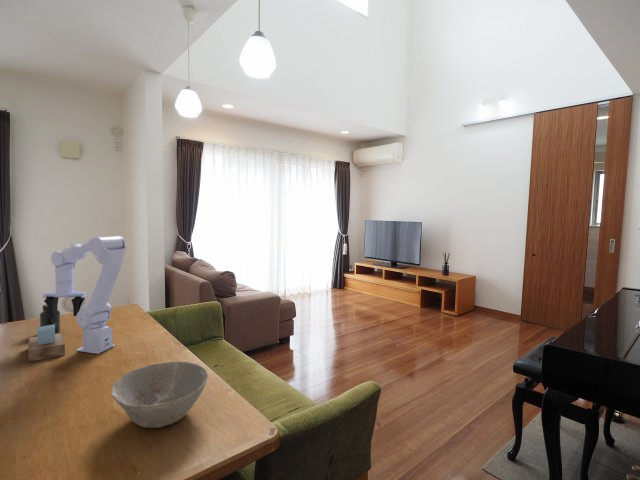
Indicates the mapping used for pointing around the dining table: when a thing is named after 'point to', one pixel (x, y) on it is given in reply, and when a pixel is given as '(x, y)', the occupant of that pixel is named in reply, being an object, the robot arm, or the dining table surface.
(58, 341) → the walnut block
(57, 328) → the supplement bottle
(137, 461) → the dining table surface
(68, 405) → the dining table surface
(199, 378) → the ceramic bowl
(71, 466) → the dining table surface
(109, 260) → the robot arm
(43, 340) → the blue cube
